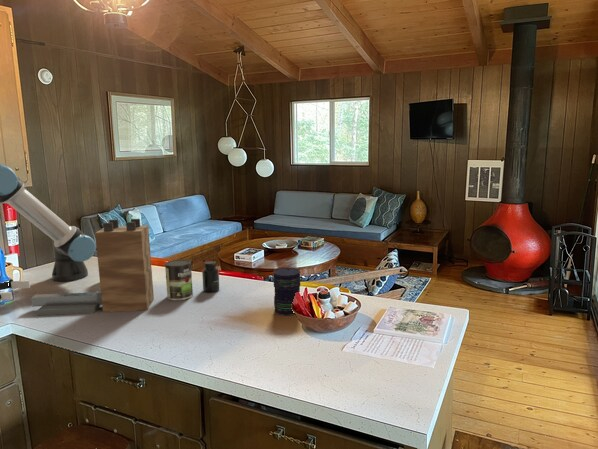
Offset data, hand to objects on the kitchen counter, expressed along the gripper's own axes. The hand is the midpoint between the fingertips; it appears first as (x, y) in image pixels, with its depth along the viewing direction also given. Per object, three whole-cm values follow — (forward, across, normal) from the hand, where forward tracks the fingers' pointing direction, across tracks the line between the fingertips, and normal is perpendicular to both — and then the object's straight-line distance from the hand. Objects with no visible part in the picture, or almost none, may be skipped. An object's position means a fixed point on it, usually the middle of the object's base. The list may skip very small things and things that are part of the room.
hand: (21, 289), depth 172 cm
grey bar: (+16, 0, -6) cm, 17 cm away
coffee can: (+57, -8, -8) cm, 58 cm away
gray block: (+18, 0, -8) cm, 19 cm away
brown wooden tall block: (+39, 0, -8) cm, 39 cm away
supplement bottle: (+69, -14, -8) cm, 71 cm away
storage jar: (+99, +14, -8) cm, 100 cm away
